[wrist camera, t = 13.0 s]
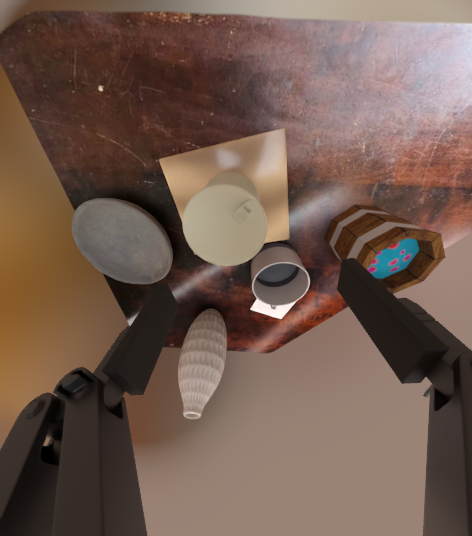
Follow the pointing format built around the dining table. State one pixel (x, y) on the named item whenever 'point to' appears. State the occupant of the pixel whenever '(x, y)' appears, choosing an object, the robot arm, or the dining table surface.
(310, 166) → the dining table surface
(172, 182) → the shelf
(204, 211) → the can
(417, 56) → the dining table surface
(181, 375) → the vase
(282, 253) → the planter
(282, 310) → the white paper sheet
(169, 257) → the bowl
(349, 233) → the mug
